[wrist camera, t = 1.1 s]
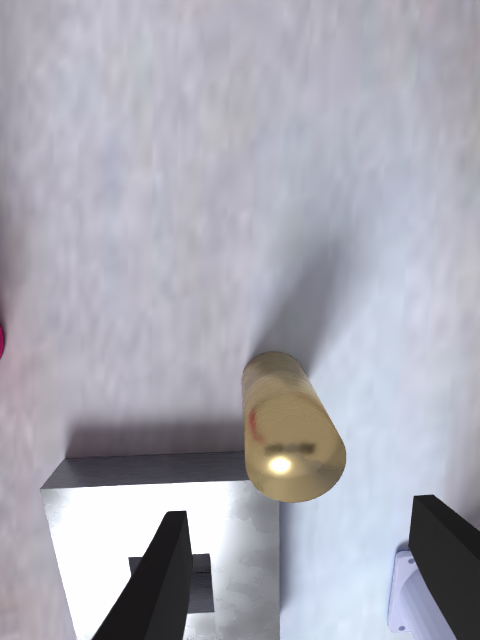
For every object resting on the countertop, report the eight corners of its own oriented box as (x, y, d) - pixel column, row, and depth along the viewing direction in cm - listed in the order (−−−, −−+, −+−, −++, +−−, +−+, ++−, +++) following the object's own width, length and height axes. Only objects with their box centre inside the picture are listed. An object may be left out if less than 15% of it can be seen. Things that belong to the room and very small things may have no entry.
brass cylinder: (305, 350, 18) (349, 414, 11) (304, 408, 19) (343, 500, 12) (240, 352, 18) (243, 418, 11) (242, 411, 19) (246, 504, 12)
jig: (273, 450, 19) (279, 479, 17) (275, 620, 23) (279, 663, 21) (64, 458, 19) (39, 489, 17) (100, 628, 23) (85, 672, 21)
